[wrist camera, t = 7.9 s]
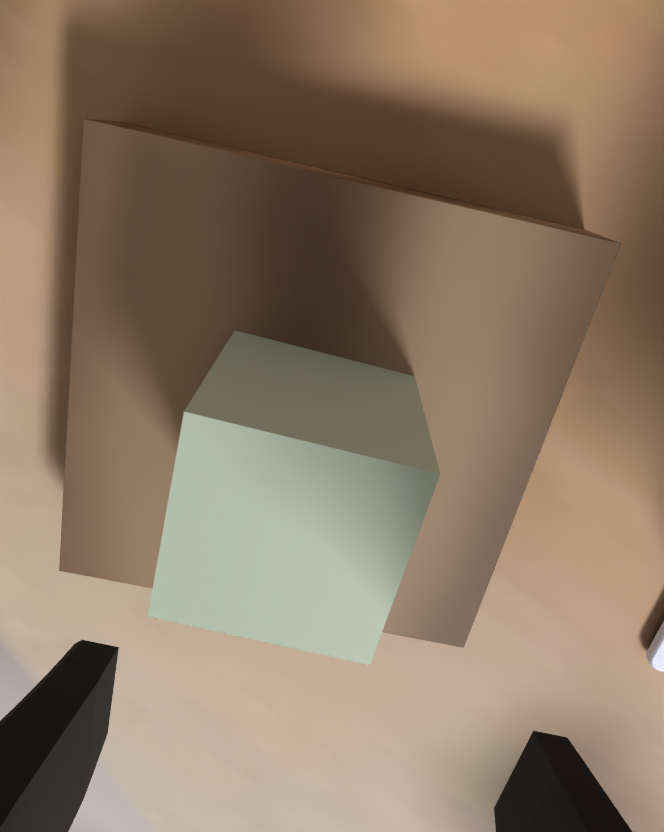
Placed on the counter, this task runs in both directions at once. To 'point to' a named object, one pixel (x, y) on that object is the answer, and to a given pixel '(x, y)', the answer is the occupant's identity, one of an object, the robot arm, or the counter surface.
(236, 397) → the sage block
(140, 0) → the counter surface
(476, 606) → the walnut slab
